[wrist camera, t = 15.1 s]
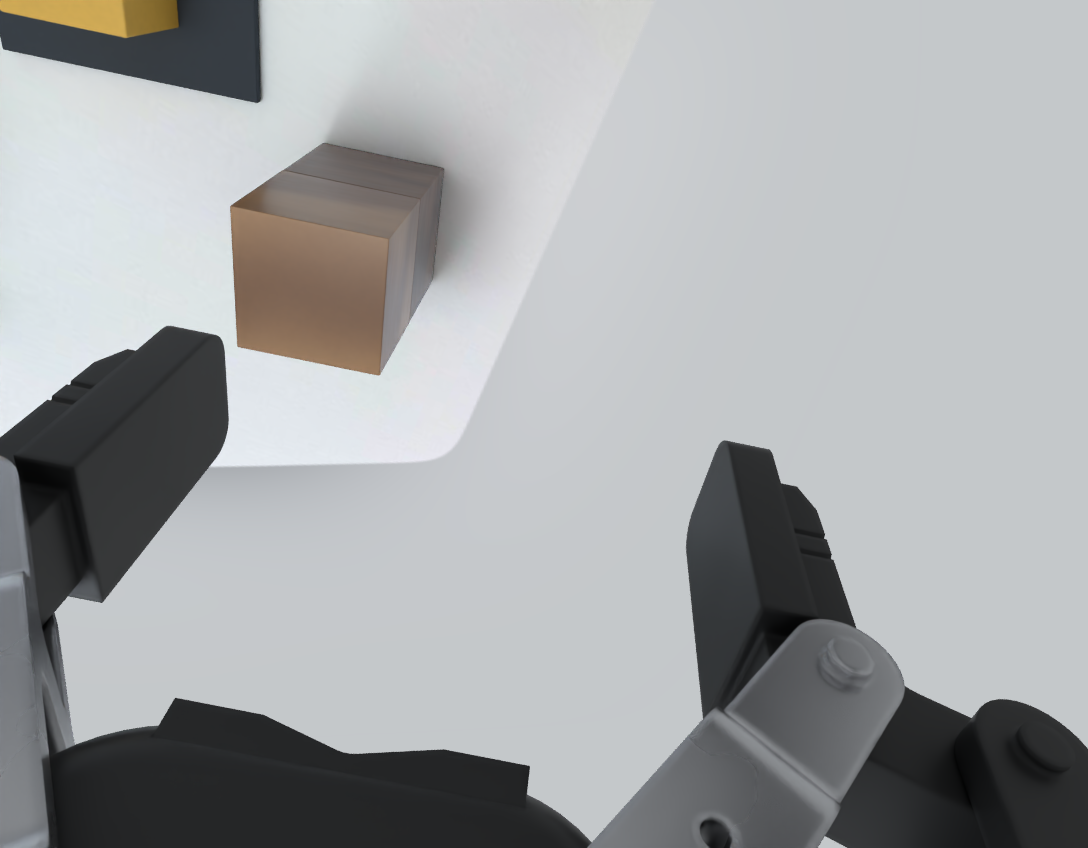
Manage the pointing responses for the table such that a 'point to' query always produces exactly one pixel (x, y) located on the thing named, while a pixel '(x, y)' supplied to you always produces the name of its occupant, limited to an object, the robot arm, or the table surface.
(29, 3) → the top block
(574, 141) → the table surface
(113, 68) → the mat
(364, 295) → the tower
